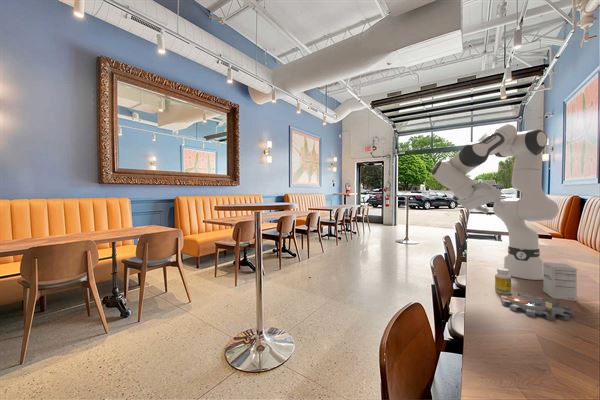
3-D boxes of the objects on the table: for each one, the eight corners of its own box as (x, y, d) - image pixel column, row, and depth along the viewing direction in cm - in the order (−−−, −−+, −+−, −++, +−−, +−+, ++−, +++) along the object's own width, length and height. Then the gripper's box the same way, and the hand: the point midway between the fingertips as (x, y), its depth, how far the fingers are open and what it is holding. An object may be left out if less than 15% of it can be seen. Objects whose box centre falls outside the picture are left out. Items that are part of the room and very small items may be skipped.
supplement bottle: (498, 288, 110) (497, 266, 110) (513, 292, 106) (513, 269, 106) (492, 291, 107) (492, 268, 107) (508, 295, 103) (508, 271, 103)
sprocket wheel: (506, 293, 105) (506, 282, 104) (574, 308, 90) (574, 295, 90) (495, 307, 92) (495, 294, 92) (572, 326, 78) (572, 312, 78)
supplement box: (542, 291, 106) (542, 261, 106) (566, 294, 103) (566, 263, 103) (552, 298, 99) (552, 266, 99) (577, 301, 96) (577, 268, 96)
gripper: (485, 175, 102) (517, 197, 99) (457, 190, 121) (483, 209, 118) (477, 186, 101) (508, 209, 98) (450, 200, 120) (475, 219, 117)
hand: (494, 209), depth 108 cm, fingers open, 8 cm apart
